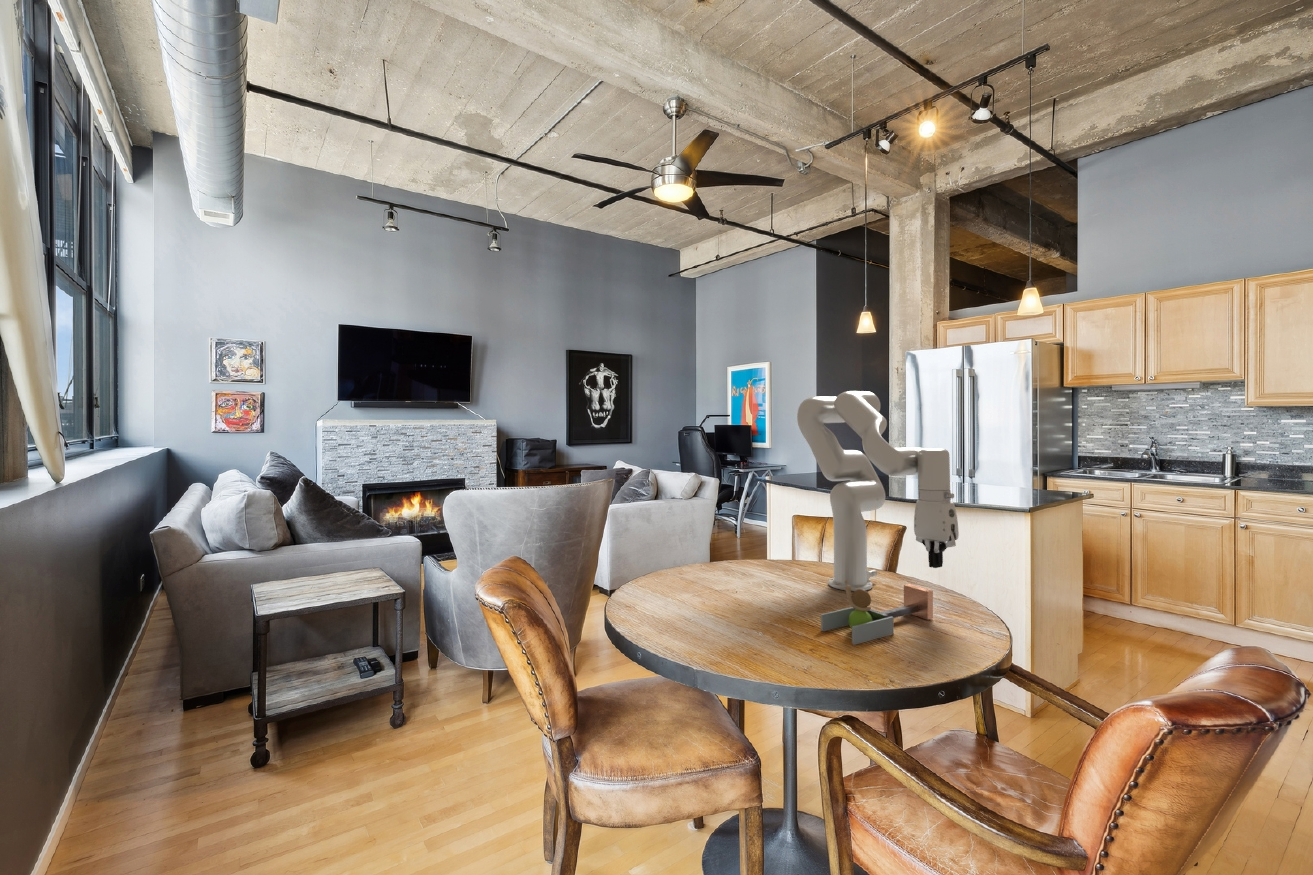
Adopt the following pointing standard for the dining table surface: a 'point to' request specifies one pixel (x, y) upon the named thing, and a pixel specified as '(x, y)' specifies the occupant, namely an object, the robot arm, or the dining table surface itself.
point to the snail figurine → (858, 606)
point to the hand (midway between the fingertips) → (935, 566)
